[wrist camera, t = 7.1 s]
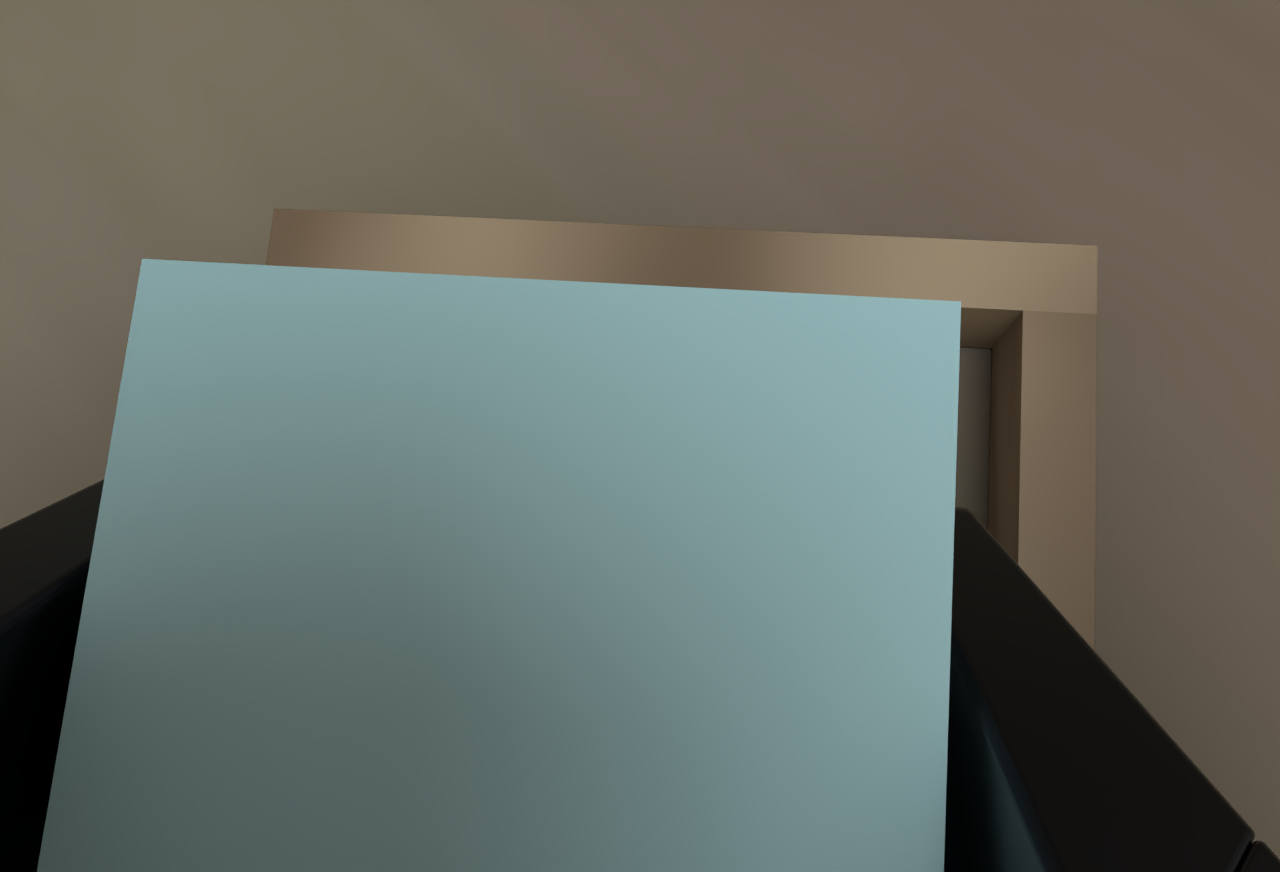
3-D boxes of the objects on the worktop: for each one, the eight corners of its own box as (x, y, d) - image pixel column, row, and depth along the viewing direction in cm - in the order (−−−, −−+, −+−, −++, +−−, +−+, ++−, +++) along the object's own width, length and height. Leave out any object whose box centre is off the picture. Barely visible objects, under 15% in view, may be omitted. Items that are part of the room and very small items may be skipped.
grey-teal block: (427, 861, 15) (-10, 1136, 6) (469, 482, 16) (141, 259, 7) (813, 900, 15) (932, 1261, 6) (833, 508, 15) (962, 301, 7)
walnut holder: (215, 1023, 17) (147, 1070, 15) (321, 254, 19) (274, 209, 17) (1047, 1122, 16) (1090, 1186, 14) (1058, 291, 18) (1097, 246, 16)
